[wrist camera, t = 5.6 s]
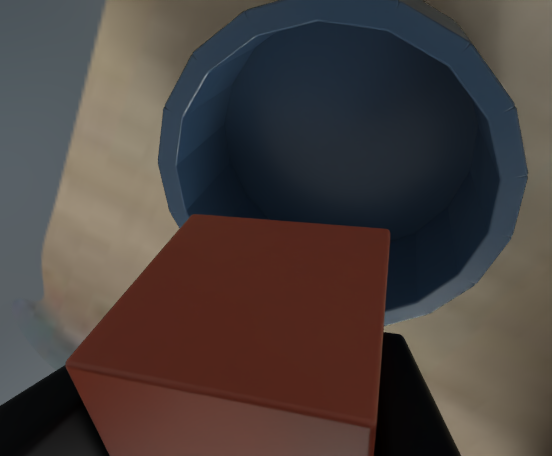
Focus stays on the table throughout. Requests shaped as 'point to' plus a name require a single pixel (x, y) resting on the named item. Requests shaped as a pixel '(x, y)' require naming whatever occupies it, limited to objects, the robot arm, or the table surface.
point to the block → (243, 344)
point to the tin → (353, 136)
